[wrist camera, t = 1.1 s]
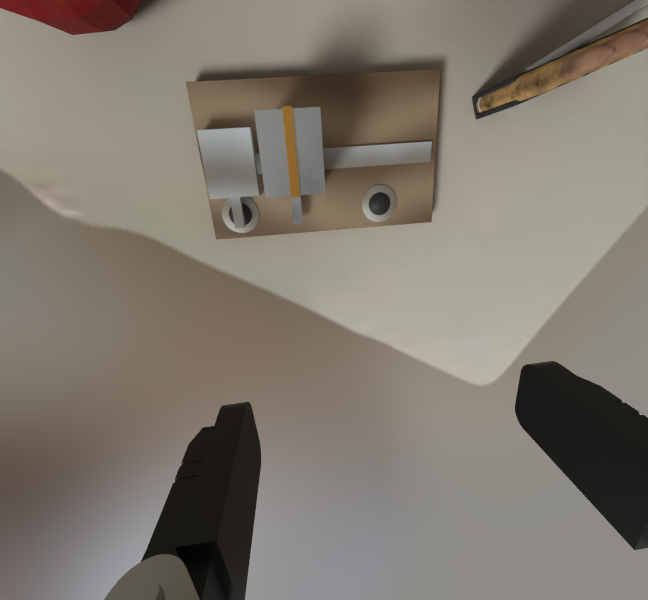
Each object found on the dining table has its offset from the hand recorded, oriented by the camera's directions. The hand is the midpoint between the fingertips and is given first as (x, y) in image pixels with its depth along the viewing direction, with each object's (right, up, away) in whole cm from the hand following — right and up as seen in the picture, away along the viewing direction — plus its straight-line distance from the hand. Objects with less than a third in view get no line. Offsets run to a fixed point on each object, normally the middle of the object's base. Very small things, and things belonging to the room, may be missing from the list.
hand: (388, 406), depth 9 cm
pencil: (+22, +27, +17) cm, 39 cm away
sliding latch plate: (-2, +16, +19) cm, 24 cm away
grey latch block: (-4, +14, +17) cm, 22 cm away
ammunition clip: (+16, +22, +18) cm, 33 cm away
